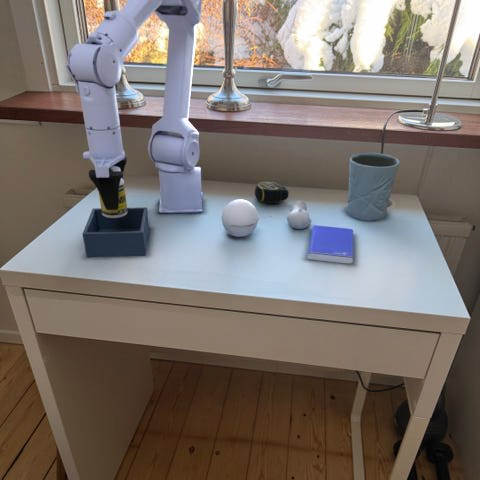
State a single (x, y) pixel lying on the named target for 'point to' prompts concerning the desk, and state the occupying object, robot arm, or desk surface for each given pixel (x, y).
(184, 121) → the robot arm
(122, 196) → the supplement bottle
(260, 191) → the tape measure
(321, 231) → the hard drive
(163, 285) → the desk surface
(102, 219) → the desk bin
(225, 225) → the seamed sphere
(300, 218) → the pale two-lobed sculpture
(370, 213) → the embossed planter pot
